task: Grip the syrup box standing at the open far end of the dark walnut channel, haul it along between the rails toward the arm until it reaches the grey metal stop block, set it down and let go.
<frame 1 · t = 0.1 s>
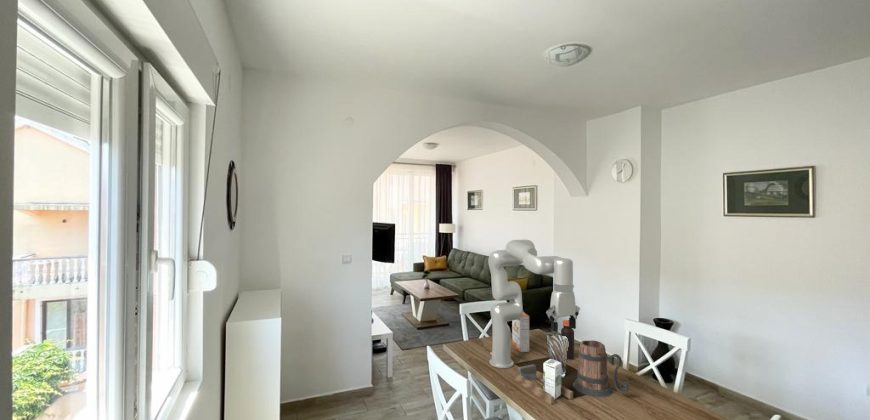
hand: (563, 329, 150), 31 cm above the table, tool pointing down, fingers open, 9 cm apart
tankard: (600, 390, 162), on the table
channel: (542, 389, 163), on the table
cracker box: (520, 348, 213), on the table
bottle: (567, 357, 199), on the table
syrup box: (552, 395, 158), resting in channel
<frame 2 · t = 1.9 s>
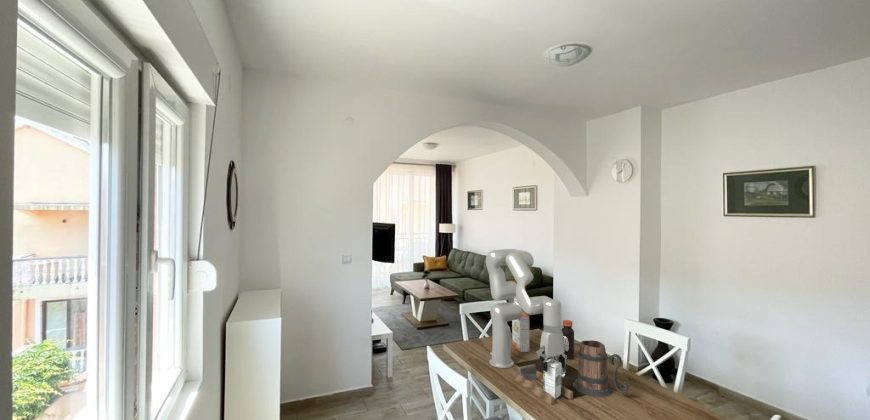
hand: (553, 368, 157), 12 cm above the table, tool pointing down, fingers open, 9 cm apart
nothing on the table moved.
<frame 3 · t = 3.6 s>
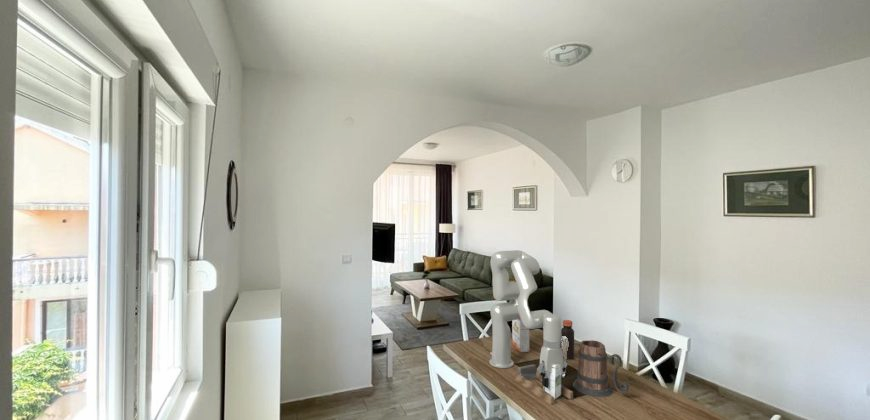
hand: (552, 384, 158), 5 cm above the table, tool pointing down, fingers closed on syrup box, 7 cm apart
syrup box: (552, 395, 158), resting in channel, touching gripper
everything else where it was.
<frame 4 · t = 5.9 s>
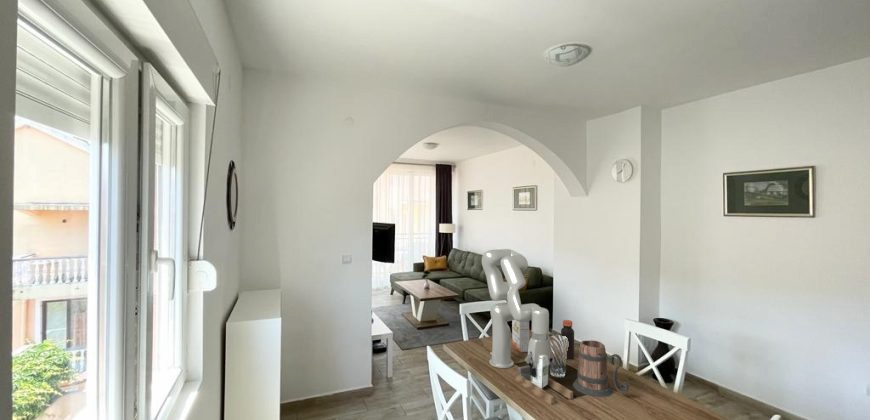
hand: (539, 374, 165), 6 cm above the table, tool pointing down, fingers closed on syrup box, 7 cm apart
syrup box: (539, 385, 165), point 1 cm above the table, touching gripper
everything else where it was.
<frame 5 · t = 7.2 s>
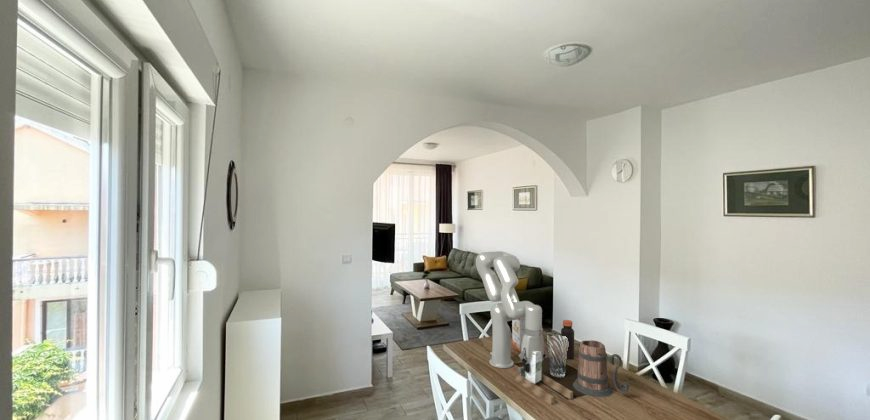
hand: (533, 369, 169), 6 cm above the table, tool pointing down, fingers closed on syrup box, 7 cm apart
syrup box: (533, 380, 169), point 1 cm above the table, touching gripper
everything else where it was.
when the fingers open (5 cm above the table, at t = 8.4 s): syrup box stays where it is, resting in channel.
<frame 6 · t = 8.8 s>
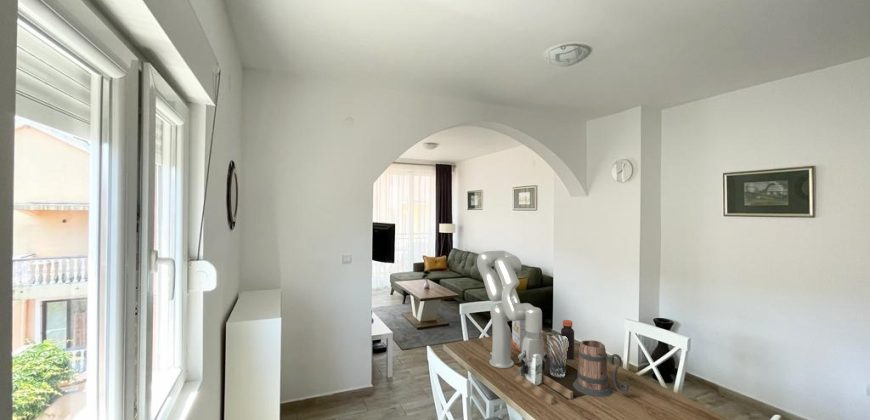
hand: (533, 371, 169), 6 cm above the table, tool pointing down, fingers open, 9 cm apart
syrup box: (533, 383, 169), resting in channel
everything else where it was.
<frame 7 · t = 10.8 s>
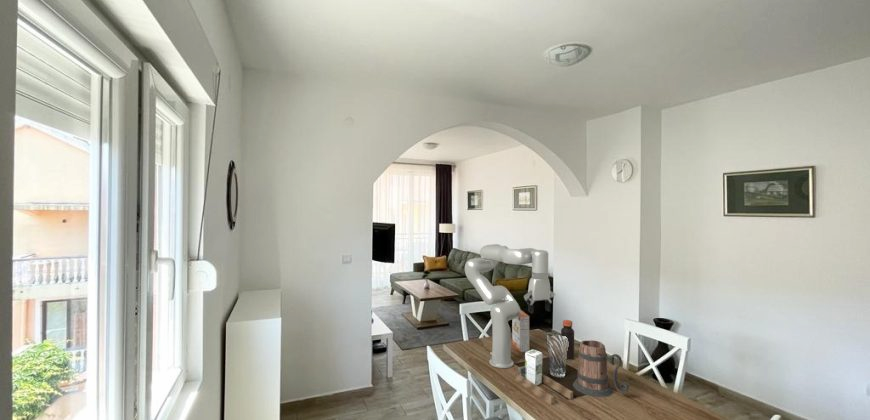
hand: (539, 311, 173), 32 cm above the table, tool pointing down, fingers open, 9 cm apart
nothing on the table moved.
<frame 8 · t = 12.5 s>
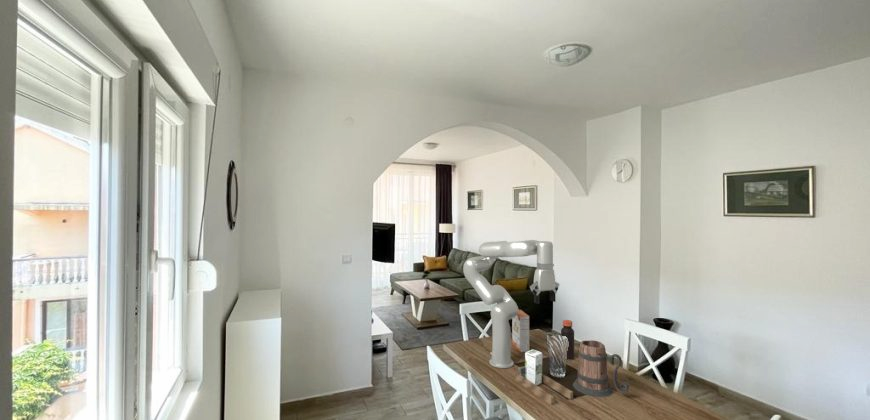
hand: (544, 302, 175), 36 cm above the table, tool pointing down, fingers open, 9 cm apart
nothing on the table moved.
at the end: syrup box 0.3 cm from the target spot on the channel, point 0.0 cm above the channel's base; syrup box tilted 0°; the gripper is holding nothing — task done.
